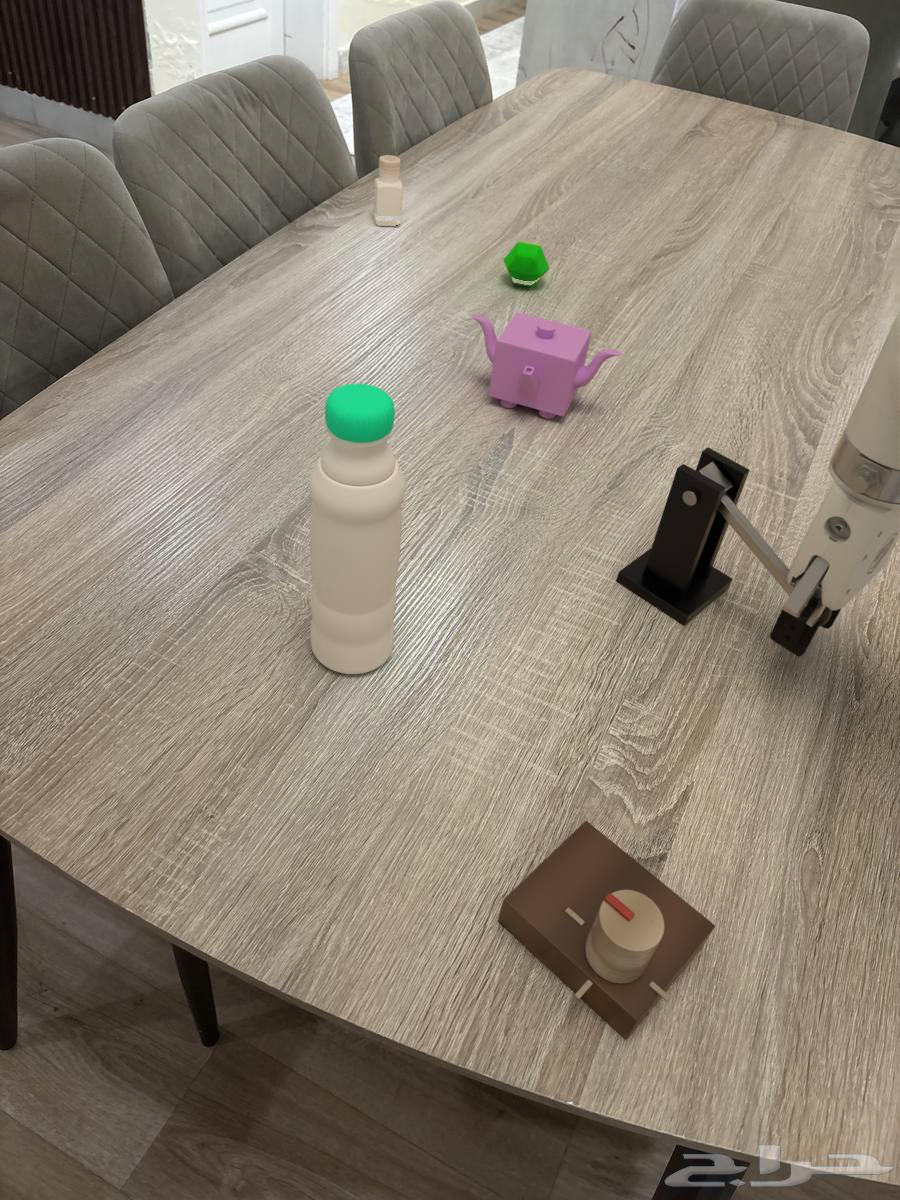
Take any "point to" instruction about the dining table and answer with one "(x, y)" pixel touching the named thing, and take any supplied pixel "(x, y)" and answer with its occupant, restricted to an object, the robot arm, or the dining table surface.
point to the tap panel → (568, 910)
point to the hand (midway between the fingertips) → (801, 631)
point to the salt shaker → (388, 189)
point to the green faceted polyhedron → (526, 262)
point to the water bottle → (355, 532)
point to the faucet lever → (755, 538)
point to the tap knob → (624, 936)
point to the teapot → (539, 363)
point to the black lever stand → (687, 542)
